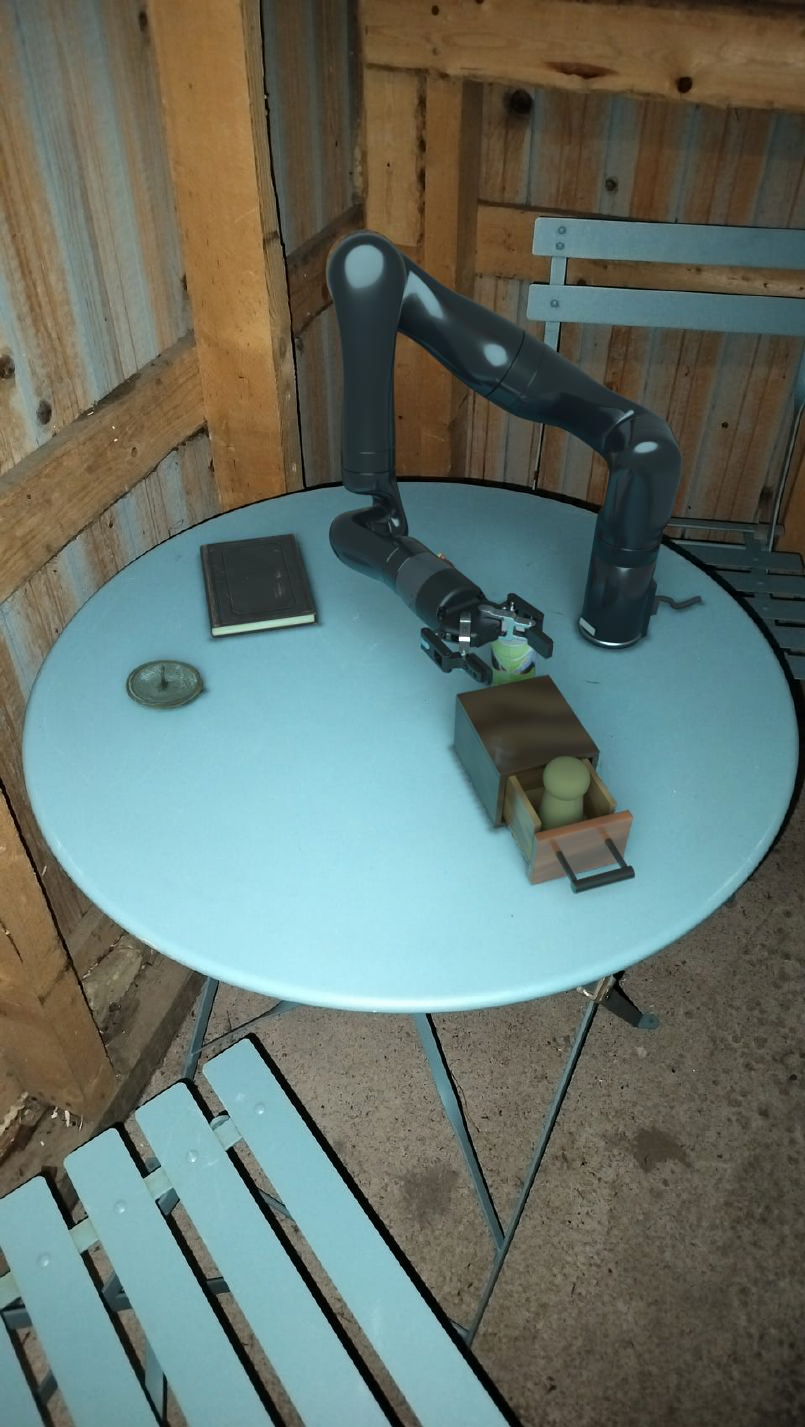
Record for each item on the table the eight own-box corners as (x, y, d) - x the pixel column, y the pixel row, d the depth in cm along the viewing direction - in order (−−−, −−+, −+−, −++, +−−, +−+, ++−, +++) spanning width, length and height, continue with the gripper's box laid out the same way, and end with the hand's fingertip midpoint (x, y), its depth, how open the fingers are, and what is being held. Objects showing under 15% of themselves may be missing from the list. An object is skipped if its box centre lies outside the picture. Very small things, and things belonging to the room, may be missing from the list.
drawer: (645, 898, 104) (658, 854, 99) (551, 924, 102) (560, 880, 97) (572, 780, 118) (580, 736, 112) (487, 800, 115) (492, 756, 110)
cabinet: (589, 805, 116) (600, 750, 109) (494, 829, 113) (500, 774, 106) (541, 728, 126) (548, 674, 120) (453, 748, 123) (456, 693, 117)
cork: (527, 814, 112) (535, 749, 105) (576, 811, 112) (588, 745, 105) (537, 854, 108) (547, 789, 100) (588, 850, 108) (602, 785, 101)
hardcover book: (295, 544, 160) (294, 533, 158) (317, 624, 143) (316, 612, 141) (200, 556, 157) (198, 544, 155) (212, 639, 140) (209, 626, 139)
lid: (120, 697, 133) (106, 676, 129) (172, 652, 136) (160, 631, 132) (166, 734, 128) (153, 714, 124) (219, 687, 131) (208, 665, 127)
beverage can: (540, 685, 133) (549, 616, 124) (522, 717, 128) (531, 648, 120) (498, 673, 135) (504, 605, 126) (480, 704, 130) (485, 635, 122)
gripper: (389, 587, 109) (471, 661, 99) (487, 550, 115) (574, 617, 105) (390, 638, 114) (467, 713, 104) (483, 600, 120) (566, 668, 110)
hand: (521, 665), depth 104 cm, fingers open, 8 cm apart
